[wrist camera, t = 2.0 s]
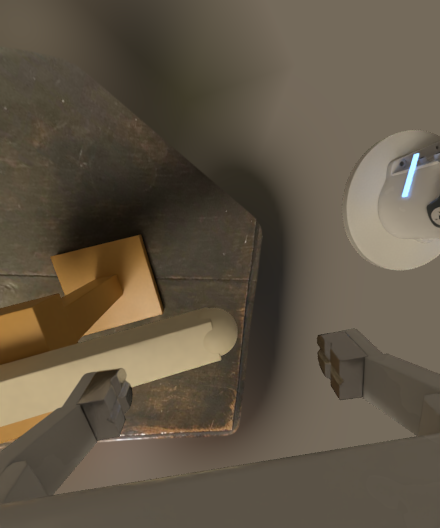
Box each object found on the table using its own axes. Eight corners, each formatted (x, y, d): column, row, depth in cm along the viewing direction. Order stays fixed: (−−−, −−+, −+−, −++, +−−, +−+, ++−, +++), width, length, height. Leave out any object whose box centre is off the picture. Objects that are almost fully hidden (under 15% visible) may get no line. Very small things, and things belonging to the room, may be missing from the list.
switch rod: (227, 296, 15) (236, 312, 12) (236, 335, 16) (247, 358, 13) (-23, 366, 14) (-75, 400, 11) (-4, 406, 14) (-49, 448, 12)
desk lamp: (141, 234, 40) (47, 249, 13) (163, 309, 42) (123, 447, 16) (31, 261, 38) (-319, 338, 12) (62, 338, 41) (-169, 542, 14)
